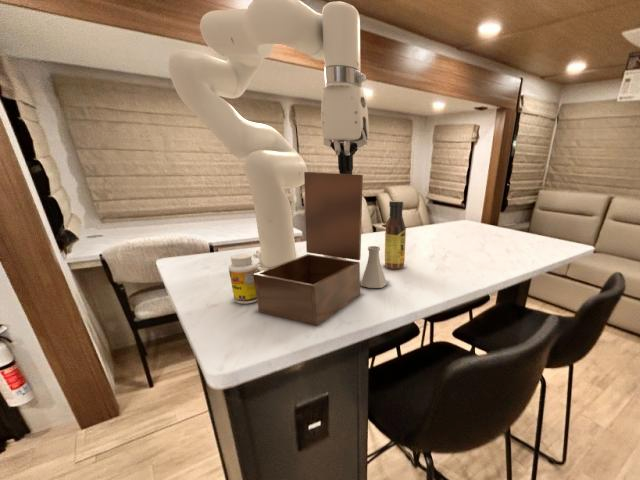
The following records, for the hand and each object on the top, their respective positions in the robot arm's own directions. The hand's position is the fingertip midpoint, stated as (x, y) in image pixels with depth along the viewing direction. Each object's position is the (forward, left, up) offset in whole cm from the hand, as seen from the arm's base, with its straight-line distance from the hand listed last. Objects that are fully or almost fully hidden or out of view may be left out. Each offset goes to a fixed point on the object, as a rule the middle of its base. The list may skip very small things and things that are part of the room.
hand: (345, 174), depth 73 cm
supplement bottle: (-14, -21, -27) cm, 37 cm away
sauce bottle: (+6, +18, -27) cm, 33 cm away
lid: (0, -7, -9) cm, 11 cm away
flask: (+7, +1, -27) cm, 28 cm away
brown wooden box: (0, -16, -27) cm, 31 cm away
